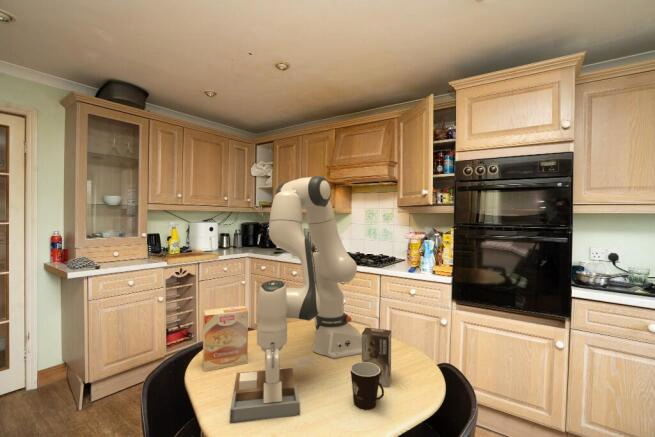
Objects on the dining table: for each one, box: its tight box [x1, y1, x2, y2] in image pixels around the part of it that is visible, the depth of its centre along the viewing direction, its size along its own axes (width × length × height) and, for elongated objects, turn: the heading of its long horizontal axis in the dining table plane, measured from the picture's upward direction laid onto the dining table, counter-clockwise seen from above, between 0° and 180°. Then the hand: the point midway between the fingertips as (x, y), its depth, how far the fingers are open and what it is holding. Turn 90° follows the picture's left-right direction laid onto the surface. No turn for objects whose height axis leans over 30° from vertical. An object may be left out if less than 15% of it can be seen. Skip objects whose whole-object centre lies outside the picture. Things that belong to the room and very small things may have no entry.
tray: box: [229, 385, 301, 424], centre depth 87 cm, size 18×8×4 cm, turn 102°
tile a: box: [264, 382, 282, 404], centre depth 90 cm, size 5×5×2 cm
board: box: [233, 367, 297, 401], centre depth 97 cm, size 18×12×3 cm, turn 102°
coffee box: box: [360, 327, 392, 388], centre depth 104 cm, size 9×6×16 cm
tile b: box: [239, 371, 257, 390], centre depth 94 cm, size 5×5×2 cm
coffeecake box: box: [202, 305, 249, 372], centre depth 114 cm, size 15×7×20 cm, turn 115°
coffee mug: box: [349, 361, 385, 411], centre depth 89 cm, size 12×9×10 cm
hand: (271, 383), depth 93 cm, fingers closed
